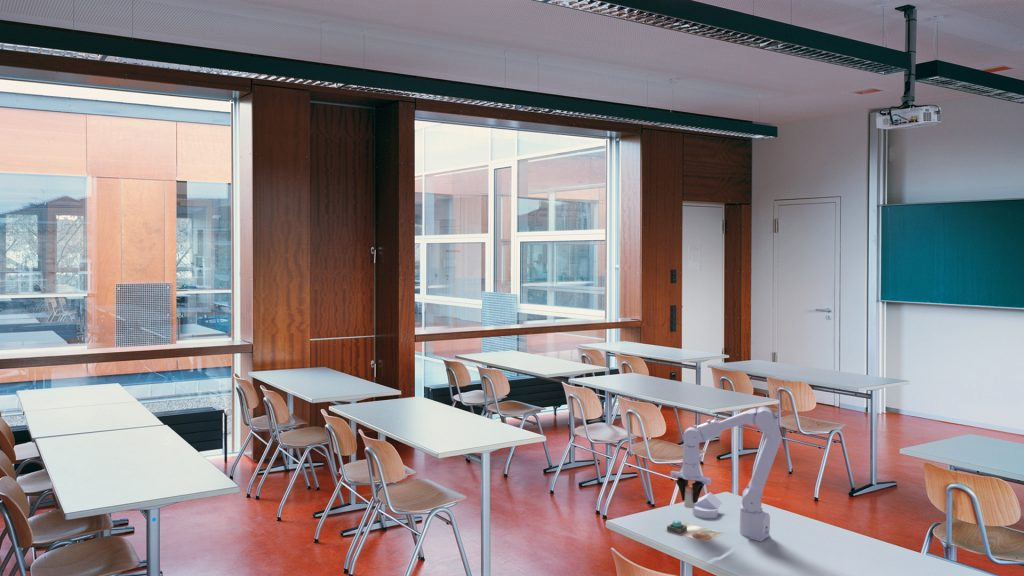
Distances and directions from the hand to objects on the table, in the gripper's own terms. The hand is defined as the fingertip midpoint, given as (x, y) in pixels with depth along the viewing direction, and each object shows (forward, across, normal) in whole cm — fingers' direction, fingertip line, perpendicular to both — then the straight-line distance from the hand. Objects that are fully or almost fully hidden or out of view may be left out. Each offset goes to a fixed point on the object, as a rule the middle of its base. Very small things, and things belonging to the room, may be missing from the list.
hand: (689, 501), depth 278 cm
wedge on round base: (+10, -2, +18) cm, 21 cm away
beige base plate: (+10, +4, -4) cm, 11 cm away
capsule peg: (+2, 0, 0) cm, 2 cm away
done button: (+9, -1, -7) cm, 11 cm away
